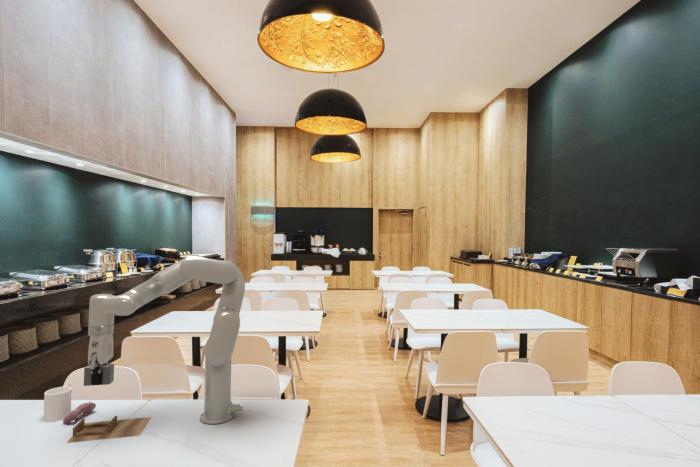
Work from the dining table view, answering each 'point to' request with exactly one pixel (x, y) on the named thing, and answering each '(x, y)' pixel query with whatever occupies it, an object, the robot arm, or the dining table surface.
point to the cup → (57, 403)
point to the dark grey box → (106, 374)
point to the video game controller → (79, 412)
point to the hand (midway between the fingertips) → (99, 381)
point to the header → (108, 429)
